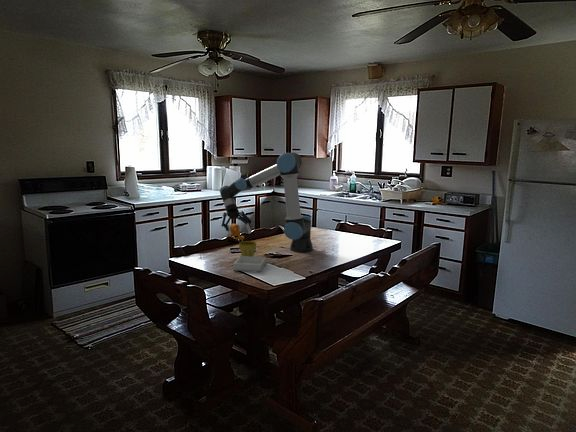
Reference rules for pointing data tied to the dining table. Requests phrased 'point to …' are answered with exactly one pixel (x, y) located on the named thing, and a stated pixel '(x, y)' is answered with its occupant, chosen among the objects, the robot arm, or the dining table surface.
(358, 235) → the dining table surface
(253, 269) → the tray
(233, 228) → the orange irregular lump
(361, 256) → the dining table surface
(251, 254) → the plant pot
